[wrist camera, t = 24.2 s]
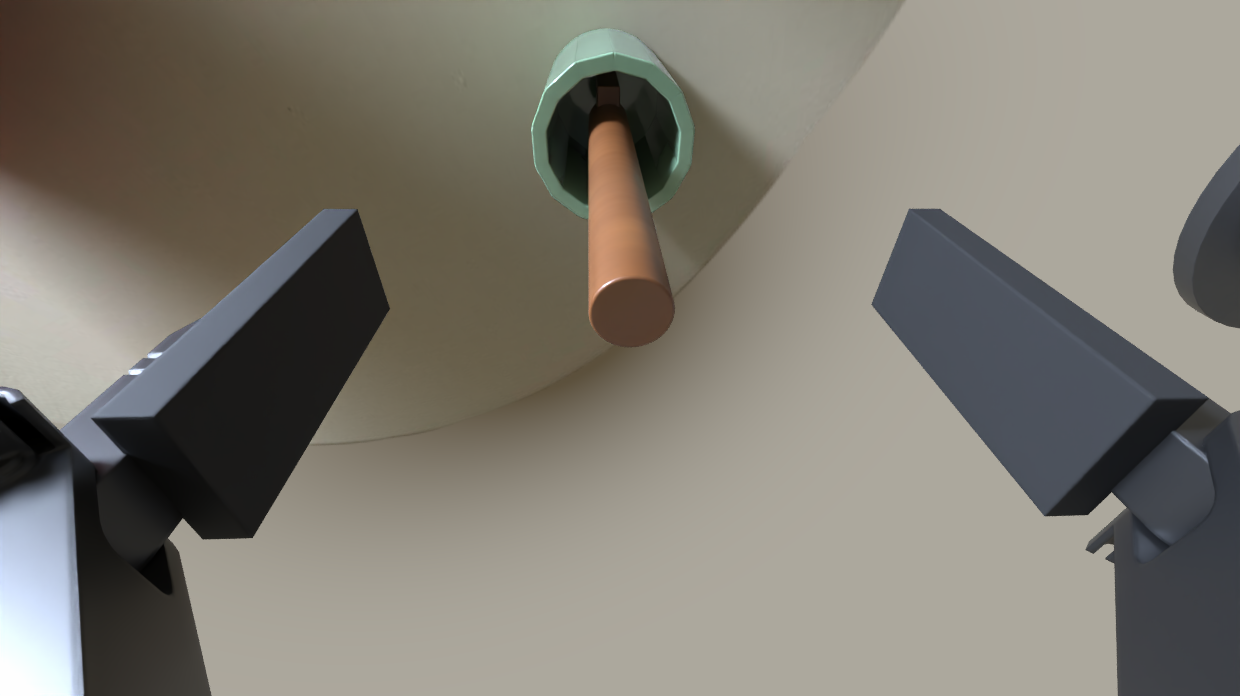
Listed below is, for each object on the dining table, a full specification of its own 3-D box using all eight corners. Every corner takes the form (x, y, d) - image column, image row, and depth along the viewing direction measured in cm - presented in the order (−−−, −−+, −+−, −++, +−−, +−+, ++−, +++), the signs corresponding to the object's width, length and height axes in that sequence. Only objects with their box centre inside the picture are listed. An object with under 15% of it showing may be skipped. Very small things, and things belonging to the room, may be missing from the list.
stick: (623, 66, 25) (682, 243, 9) (622, 133, 27) (669, 372, 11) (587, 66, 25) (586, 243, 9) (589, 133, 27) (590, 373, 11)
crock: (670, 27, 25) (703, 53, 18) (661, 160, 29) (685, 224, 22) (542, 25, 24) (523, 51, 17) (551, 160, 28) (539, 225, 21)
